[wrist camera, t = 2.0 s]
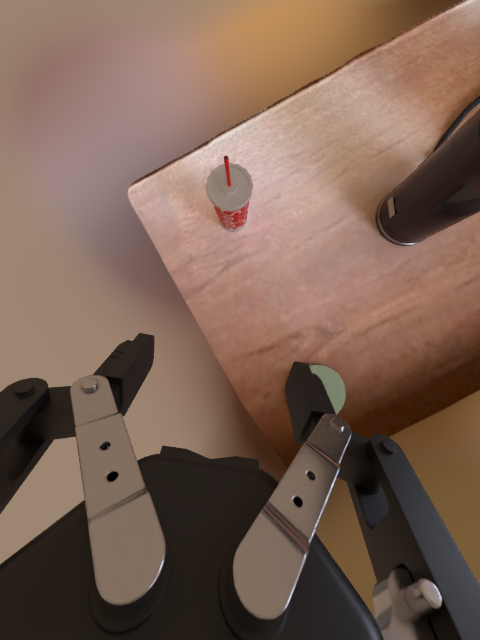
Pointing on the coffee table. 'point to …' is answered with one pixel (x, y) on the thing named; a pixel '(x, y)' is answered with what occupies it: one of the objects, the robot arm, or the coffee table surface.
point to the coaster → (331, 385)
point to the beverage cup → (230, 194)
